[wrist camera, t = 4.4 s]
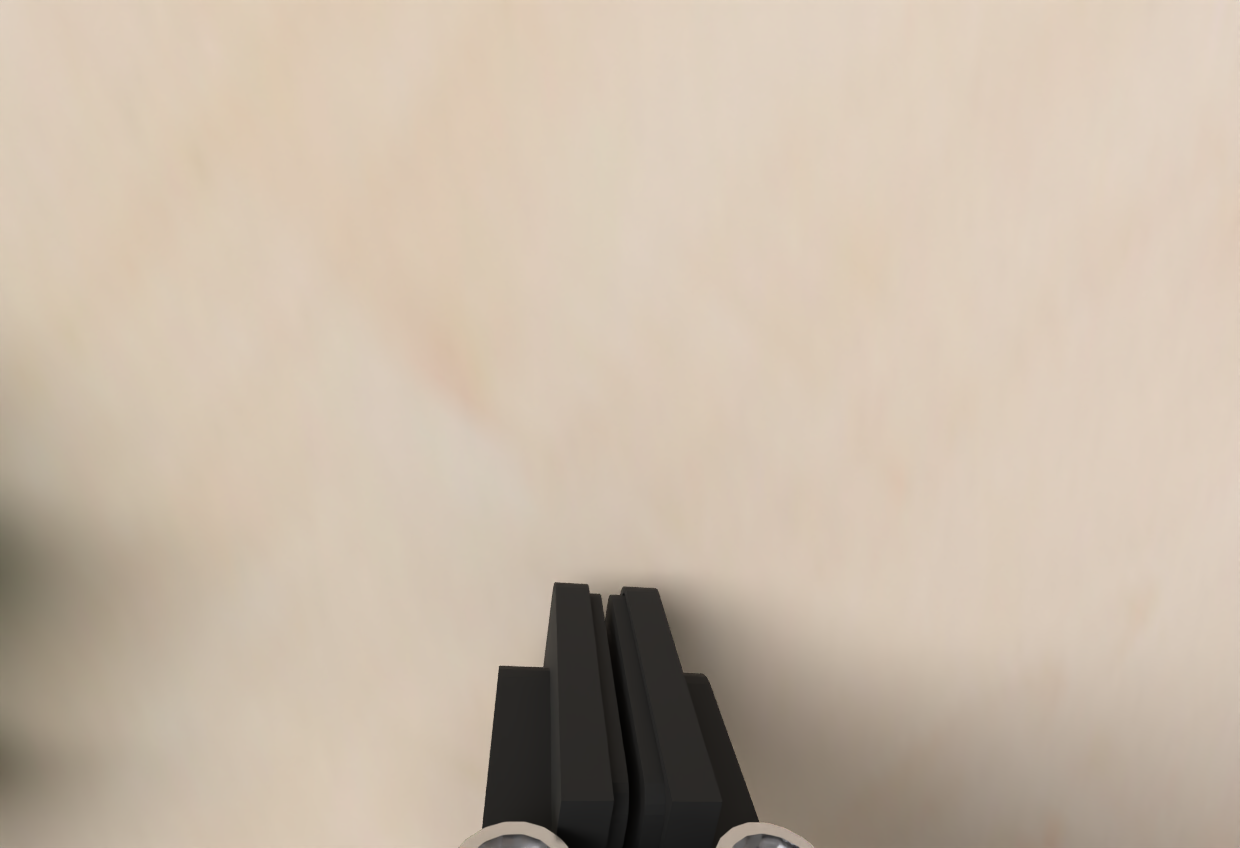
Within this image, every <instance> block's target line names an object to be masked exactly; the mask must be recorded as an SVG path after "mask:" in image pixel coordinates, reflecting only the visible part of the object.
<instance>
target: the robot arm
mask: <svg viewBox="0 0 1240 848" xmlns="http://www.w3.org/2000/svg"><path fill="white" fill-rule="evenodd" d="M459 848H815V847H814V846H813V845H811V844H810V843H809V842H808V841H807V840H806V839H804V838H803V837H801V836H799V835H797V834H796V833H794V832H792V831H790V830H788V829H787V828H784V827H781V826H777V825H774V824H770V823H767V822H759V820H758V817H757V814H756V811H755V809H754V806H753V803H752V800H751V797H750V795H749V792H748V789H747V786H746V783H745V781H744V778H743V775H742V772H741V769H740V767H739V764H738V761H737V758H736V755H735V753H734V750H733V747H732V744H731V741H730V739H729V736H728V733H727V730H726V727H725V725H724V722H723V719H722V716H721V713H720V711H719V708H718V705H717V702H716V699H715V697H714V694H713V691H712V688H711V685H710V683H709V681H708V679H707V677H706V676H705V675H704V674H695V673H683V671H682V667H681V664H680V661H679V658H678V654H677V651H676V648H675V644H674V641H673V638H672V635H671V631H670V628H669V625H668V622H667V618H666V615H665V612H664V609H663V605H662V602H661V599H660V595H659V592H658V590H657V589H656V588H641V587H623V588H622V590H621V594H620V595H610V596H609V599H608V604H607V611H606V617H605V619H604V612H603V605H602V599H601V595H600V594H590V593H589V586H588V584H574V583H558V582H555V583H554V587H553V593H552V601H551V609H550V617H549V626H548V634H547V642H546V650H545V658H544V666H543V667H518V666H499V673H498V682H497V692H496V702H495V711H494V721H493V730H492V740H491V749H490V759H489V768H488V778H487V787H486V797H485V806H484V816H483V825H482V830H480V831H478V832H477V833H475V834H474V835H472V836H470V837H469V838H467V839H466V840H465V841H464V842H463V843H462V844H461V845H460V846H459Z"/></svg>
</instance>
